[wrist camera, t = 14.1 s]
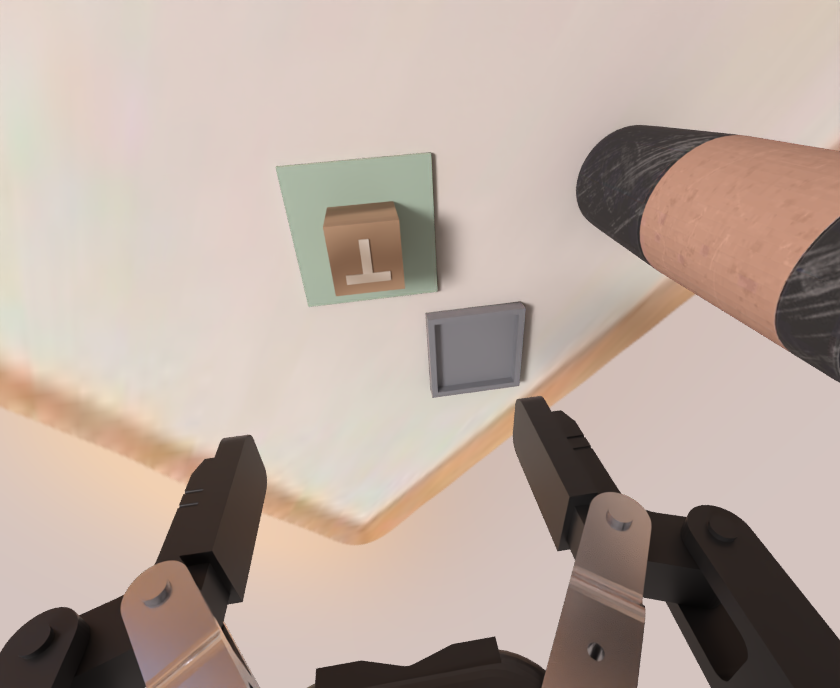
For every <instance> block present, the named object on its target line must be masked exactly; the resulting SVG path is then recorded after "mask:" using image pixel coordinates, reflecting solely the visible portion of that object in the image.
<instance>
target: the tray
mask: <svg viewBox="0 0 840 688" xmlns="http://www.w3.org/2000/svg"><path fill="white" fill-rule="evenodd" d="M525 311H526V308H525V307H524V305H523V304H522V303H521V302H513V303H505V304H497V305H489V306H481V307H472V308H464V309H456V310H448V311H439V312H431V313H426V327H427V343H428V358H429V373H430V389H431V393H432V397H433V398H434V397H442V396H449V395H456V394H463V393H471V392H478V391H485V390H493V389H500V388H507V387H514V386H519V383H520V371H521V359H522V347H523V335H524V323H525Z"/></svg>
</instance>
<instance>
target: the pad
mask: <svg viewBox="0 0 840 688" xmlns="http://www.w3.org/2000/svg"><path fill="white" fill-rule="evenodd" d="M276 171H277V176H278V180H279V184H280V188H281V193H282V197H283V201H284V205H285V209H286V214H287V218H288V222H289V226H290V231H291V235H292V239H293V243H294V247H295V252H296V256H297V260H298V264H299V268H300V273H301V277H302V281H303V285H304V290H305V294H306V298H307V302H308V306H309V307H312V306H320V305H329V304H337V303H346V302H354V301H363V300H371V299H380V298H388V297H397V296H405V295H414V294H422V293H431V292H437V271H436V249H435V227H434V206H433V184H432V162H431V153H430V152H428V153H417V154H406V155H395V156H384V157H374V158H363V159H352V160H341V161H330V162H319V163H308V164H298V165H287V166H276ZM388 201H393V202H394V205H395V208H396V211H397V215H398V218H399V224H400V235H401V247H402V258H403V270H404V281H405V289H397V290H389V291H380V292H371V293H362V294H353V295H344V296H336V294H335V289H334V284H333V279H332V273H331V268H330V263H329V257H328V252H327V247H326V242H325V236H324V231H323V224H324V219H325V214H326V210H327V207H336V206H347V205H357V204H367V203H378V202H388Z"/></svg>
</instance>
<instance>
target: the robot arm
mask: <svg viewBox="0 0 840 688" xmlns="http://www.w3.org/2000/svg"><path fill="white" fill-rule="evenodd" d="M513 443H514V448H515V451H516V454H517V457H518V458H519V461H520V463H521V466H522V468H523V471H524V473H525V475H526V478H527V480H528V483H529V485H530V487H531V490H532V492H533V494H534V497H535V499H536V501H537V504H538V506H539V509H540V511H541V513H542V516H543V518H544V520H545V522H546V525H547V527H548V529H549V532H550V534H551V536H552V539H553V541H554V544H555V546H556V549H557V551H562V550H568V549H570V550H571V552H572V554H573V557H574V559H575V563H574V567H573V571H572V575H571V579H570V582H569V586H568V590H567V594H566V598H565V601H564V605H563V608H562V612H561V616H560V620H559V623H558V627H557V631H556V635H555V639H554V642H553V646H552V650H551V653H550V658H549V661H548V665H547V669H546V670H544V669H543V668H542V667H540V666H539V665H538V664H536V663H534V662H533V661H531V660H529V659H527V658H525V657H523V656H521V655H518V654H515V653H512V652H509V651H504V650H498V646H497V642H496V638H495V637H490V638H484V639H479V640H473V641H468V642H462V643H456V644H452V645H450V646H448V647H446V648H444V649H442V650H440V651H438V652H436V653H434V654H432V655H431V656H429V657H427V658H425V659H423V660H421V661H419V662H417V663H415V664H413V665H411V666H398V665H391V664H390V665H389V664H383V663H375V662H368V661H356V662H351V663H345V664H340V665H334V666H328V667H323V668H318V669H316V680H315V684H313V685H311V686H310V687H308V688H637V685H638V676H639V667H640V658H641V650H642V642H643V633H644V624H645V606H644V605H643V604H642V599H643V597H644V598H649V599H655V600H661V601H666V603H667V605H668V607H669V609H670V611H671V613H672V615H673V617H674V618H675V620H676V622H677V624H678V626H679V628H680V630H681V632H682V634H683V635H684V637H685V639H686V641H687V643H688V645H689V647H690V649H691V651H692V653H693V654H694V656H695V658H696V660H697V662H698V664H699V666H700V668H701V670H702V671H703V673H704V675H705V677H706V679H707V681H708V683H709V685H710V687H711V688H840V640H839V639H838V637H837V636H836V635H835V633H834V632H833V631H832V630H831V628H829V626H828V625H827V623H826V622H825V621H824V620H823V618H822V617H821V616H820V615H819V614H818V612H817V611H816V610H815V608H814V607H813V606H812V605H811V603H810V602H809V601H808V600H807V598H806V597H805V596H804V595H803V593H802V592H801V591H800V590H799V588H798V587H797V586H796V585H795V583H794V582H793V581H792V580H791V578H790V577H789V576H788V575H787V573H786V572H785V571H784V570H783V568H782V567H781V566H780V564H779V563H778V562H777V561H776V560H775V558H774V557H773V556H772V554H771V553H770V552H769V551H768V549H767V548H766V547H765V546H764V544H763V543H762V542H761V541H760V539H759V538H758V537H757V536H756V534H755V533H754V532H753V531H752V530H751V528H750V527H749V526H748V525H747V524H746V523H745V522H744V521H743V520H742V519H741V518H739V517H738V516H736V515H735V514H733V513H731V512H730V511H727V510H725V509H722V508H720V507H716V506H710V505H701V506H697V507H695V508H693V509H692V510H691V511H690V512H689V514H688V516H687V517H683V516H676V515H668V514H662V513H655V512H650V511H648V510H645V509H644V508H643V507H642V506H641V505H640V504H639V503H638V502H636V501H635V500H634V499H632V498H630V497H628V496H626V495H623V494H621V492H620V491H619V490H618V488H617V487H616V485H615V483H614V482H613V481H612V479H611V477H610V476H609V474H608V472H607V471H606V469H605V468H604V466H603V465H602V463H601V461H600V460H599V458H598V457H597V455H596V453H595V452H594V450H593V449H591V446H590V444H589V442H588V441H587V439H586V438H585V437H584V435H583V433H582V431H581V430H580V428H579V427H578V425H577V423H576V422H575V421H574V420H573V419H571V418H570V417H569V416H568V415H566V414H565V413H564V412H563V411H553V412H551V410H550V408H549V406H548V405H547V403H546V401H545V400H544V398H543V397H542V396H537V397H530V398H522V399H517V400H516V404H515V415H514V427H513ZM266 488H267V475H266V470H265V467H264V464H263V462H262V459H261V457H260V454H259V452H258V449H257V447H256V444H255V442H254V439H253V437H252V436H251V435H244V436H236V437H229V438H223V439H222V440H221V442H220V444H219V447H218V450H217V452H216V455H215V458H209V459H204V461H203V462H202V463H201V464H200V465H199V466H198V468H197V469H196V470H195V471H194V472H193V473H192V475H191V477H190V480H189V482H188V484H187V487H186V489H185V494H183V497H182V500H181V502H180V504H179V505H180V507H179V508H178V509H177V512H176V514H175V517H174V519H173V521H172V524H171V527H170V529H169V531H168V534H167V536H166V539H165V541H164V544H163V546H162V549H161V551H160V554H159V556H158V559H157V561H156V563H155V565H154V566H152V567H150V568H148V569H147V570H145V571H144V572H143V573H141V574H140V575H139V576H138V577H137V578H136V579H135V580H134V581H133V582H132V583H131V585H130V586H129V587H128V589H127V591H126V592H125V594H124V595H122V596H121V597H119V598H117V599H114V600H112V601H110V602H108V603H105V604H103V605H101V606H99V607H97V608H94V609H92V610H90V611H88V612H86V613H83V614H81V615H78V614H77V613H76V612H75V611H73V610H72V609H70V608H67V607H59V608H54V609H50V610H48V611H45V612H43V613H41V614H39V615H37V616H36V617H34V618H33V619H31V620H30V621H28V622H27V623H26V624H24V625H23V626H22V627H21V628H20V629H19V630H18V631H17V632H16V633H15V634H14V635H13V636H12V637H11V638H10V639H9V641H8V642H7V643H6V644H5V646H4V648H3V649H2V651H1V652H0V688H145V687H146V688H260V687H259V685H258V683H257V681H256V680H255V678H254V676H253V674H252V672H251V670H250V669H249V667H248V665H247V663H246V661H245V659H244V658H243V656H242V654H241V652H240V650H239V648H238V646H237V645H236V643H235V641H234V639H233V637H232V635H231V634H230V632H229V630H228V628H227V626H226V624H225V623H224V617H225V613H226V609H227V605H228V604H233V603H239V602H243V598H244V593H245V588H246V583H247V579H248V574H249V570H250V564H251V560H252V555H253V550H254V546H255V541H256V536H257V531H258V527H259V522H260V517H261V513H262V508H263V503H264V498H265V494H266Z"/></svg>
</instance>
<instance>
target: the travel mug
mask: <svg viewBox="0 0 840 688" xmlns="http://www.w3.org/2000/svg"><path fill="white" fill-rule="evenodd" d="M576 196H577V202H578V206H579V208H580V210H581V212H582V214H583V216H584V217H585V218H586V219H587V220H588V221H589V222H590V223H592V224H593V225H594V226H595V227H597V228H598V229H599V230H601V231H602V232H604V233H605V234H606V235H608V236H609V237H611V238H612V239H614V240H615V241H616V242H618V243H619V244H621V245H622V246H623V247H625V248H626V249H628V250H629V251H631V252H632V253H633V254H635V255H636V256H638V257H639V258H640V259H642V260H643V261H645V262H646V263H648V264H649V265H650V266H652V267H653V268H655V269H656V270H658V271H659V272H661V273H662V274H664V275H666V276H667V277H669V278H671V279H672V280H674V281H675V282H677V283H679V284H680V285H682V286H684V287H685V288H687V289H688V290H690V291H692V292H693V293H695V294H696V295H698V296H700V297H701V298H703V299H705V300H706V301H708V302H709V303H711V304H713V305H714V306H716V307H718V308H719V309H721V310H722V311H724V312H726V313H727V314H729V315H731V316H732V317H734V318H736V319H737V320H739V321H740V322H742V323H744V324H745V325H747V326H748V327H750V328H752V329H753V330H755V331H757V332H758V333H760V334H761V335H763V336H765V337H766V338H768V339H770V340H771V341H773V342H774V343H776V344H778V345H779V346H781V347H782V348H784V349H786V350H787V351H789V352H791V353H792V354H794V355H795V356H797V357H799V358H800V359H802V360H804V361H805V362H807V363H808V364H810V365H812V366H813V367H815V368H816V369H818V370H820V371H821V372H823V373H825V374H826V375H828V376H829V377H831V378H833V379H834V380H836V381H838V382H840V151H835V150H829V149H823V148H817V147H811V146H805V145H799V144H793V143H787V142H781V141H775V140H769V139H763V138H756V137H750V136H743V135H735V134H726V133H716V132H707V131H697V130H687V129H678V128H668V127H659V126H646V125H634V126H628V127H624V128H622V129H619V130H616V131H615V132H613V133H611V134H609V135H608V136H606V137H605V138H604V139H602V140H601V141H600V142H599V143H598V144H597V145H596V146H595V147H594V148H593V149H592V151H591V152H590V153H589V155H588V156H587V158H586V160H585V161H584V163H583V165H582V167H581V170H580V173H579V176H578V180H577V186H576Z"/></svg>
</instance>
